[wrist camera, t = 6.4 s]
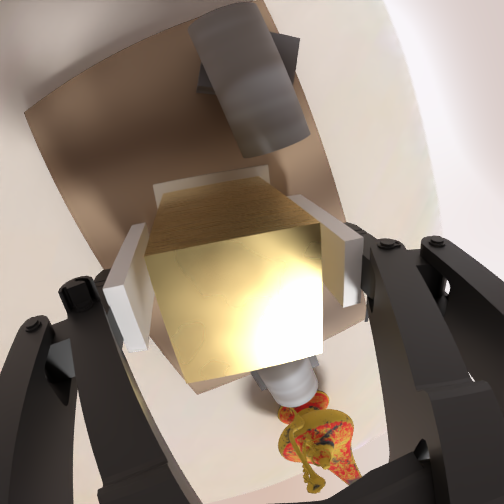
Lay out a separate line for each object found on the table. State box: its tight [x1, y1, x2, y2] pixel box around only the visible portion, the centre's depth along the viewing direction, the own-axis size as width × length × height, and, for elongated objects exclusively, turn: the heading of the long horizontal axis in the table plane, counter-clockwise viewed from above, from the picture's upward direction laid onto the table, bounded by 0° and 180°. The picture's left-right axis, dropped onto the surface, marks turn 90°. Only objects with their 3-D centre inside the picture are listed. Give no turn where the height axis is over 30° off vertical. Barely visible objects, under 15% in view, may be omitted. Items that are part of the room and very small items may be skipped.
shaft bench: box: [24, 0, 366, 407], centre depth 15 cm, size 22×14×6 cm, turn 21°
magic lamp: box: [278, 391, 362, 493], centre depth 22 cm, size 7×18×11 cm, turn 31°
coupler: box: [144, 176, 322, 384], centre depth 13 cm, size 5×5×8 cm
